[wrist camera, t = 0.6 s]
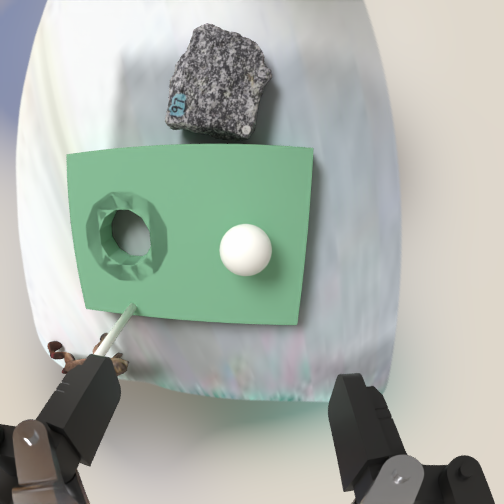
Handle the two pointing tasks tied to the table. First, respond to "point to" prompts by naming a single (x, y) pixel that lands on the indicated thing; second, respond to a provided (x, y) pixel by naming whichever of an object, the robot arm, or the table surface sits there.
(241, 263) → the ball
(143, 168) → the green
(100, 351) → the pin
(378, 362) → the table surface
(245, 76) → the rock
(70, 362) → the toy
